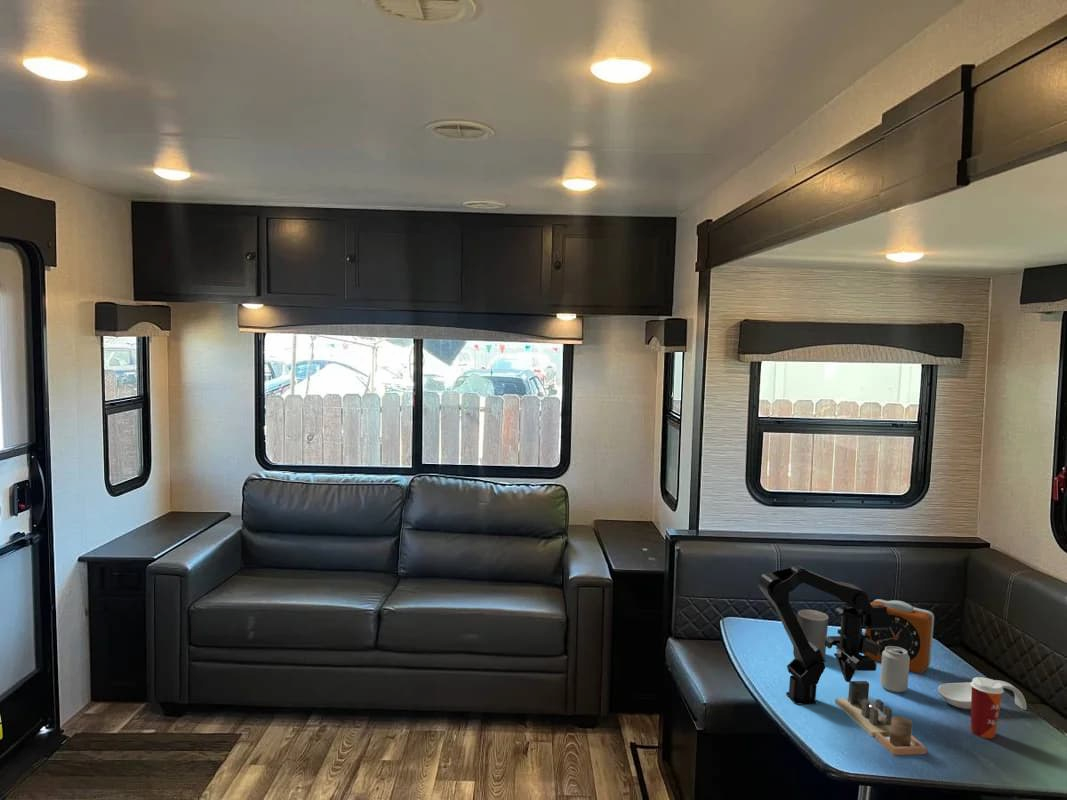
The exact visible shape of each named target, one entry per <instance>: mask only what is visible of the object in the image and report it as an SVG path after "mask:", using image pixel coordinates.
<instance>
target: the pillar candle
mask: <svg viewBox="0 0 1067 800" xmlns="http://www.w3.org/2000/svg"><path fill="white" fill-rule="evenodd" d="M796 618H797V620H798V622H799V624H800V626H801V628H802V630H803V632H804V634H805V636H806V639H807V641H808V642H809V641H810V642H811V643H812V644H814V645H815V646H816V647H817V648H819V649H820V651H821V654H822V657H823V659H824V660H825V658H826V651H827V647H826V646H825V639H826V638H827V637H828V627H829V626H828V625H829V619H830V618H829V615H828V614H827V613H824V612H822V611H819V610H816V609H814V610H813V609H801V610H799V611H797V616H796Z"/></svg>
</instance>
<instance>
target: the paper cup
mask: <svg viewBox="0 0 1067 800" xmlns="http://www.w3.org/2000/svg"><path fill="white" fill-rule="evenodd" d="M995 680H996V679H995ZM995 680H994V679H992V678H988V677H980V676H978V677H977V676H976V677H973V678H972V681H970V682H971V683H970V684H971V686H972V694H971V709H970V731H971V733H972V734H974V735H976V736H978V737H981V738H984V739H994V738H995V737H996V733H997V732H996V731H997V726H998V721H999V715H1000V714H999V713H1000V710H1001V709H1000V708H1001V701H1002V696H1003V693H1004V692H1005V691H1004V688H1002V685H1001V684H1000V683H999V682H997V681H995Z"/></svg>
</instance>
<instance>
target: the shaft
mask: <svg viewBox="0 0 1067 800" xmlns="http://www.w3.org/2000/svg"><path fill="white" fill-rule="evenodd" d="M848 683H849V684H848V697H847V698H848V701H849V702H850V703H851V704H860V705H861V706H862V700H867V701H868V702H869V703H870V707H875V708H876V709H877V710H878V717H877V720H878V721H879V722H881V723H882V724H884V723H886V722H887V721H888V717H887V716H886V715H885V714H884V713H883V712H882V711H880V710H879V709H878V708H877V707H876V706H875V705H873V704H872V703H871V702H870V701H869V700H868V698H869V694H870V693H869V691H870V683H869V682H868V681H867V680H851V681H850V682H848ZM869 713H870V708H869Z"/></svg>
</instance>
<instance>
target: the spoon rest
mask: <svg viewBox="0 0 1067 800" xmlns="http://www.w3.org/2000/svg"><path fill="white" fill-rule="evenodd" d="M995 681H997V682H999V683H1000V684H1001V685H1002V688H1003V689H1007V690H1010V691H1012V692H1013V694H1014V703H1015V705H1016V706H1017V707H1019V708H1020V709H1021V710H1025V711H1026V710H1027V709H1028V708H1027V702H1026V699H1025V697H1024V695H1023V692H1021V691H1020V690H1019V689H1018V688H1017V687H1015V686H1014V685H1012V684H1011V683H1009V682H1007V681H1004V680H998V679H995ZM971 682H972V681H970V682H950V683H949V682H948V683H943V684H940V685H939V686H938V688H937V692H938V694H939V695H940V696H941V698H942V699H943V700H944V701H945V702H947V703H948V704H949V705H952V706H954V707H956V708H959V709H963V710H971V694H972V686H971V684H970V683H971Z"/></svg>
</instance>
